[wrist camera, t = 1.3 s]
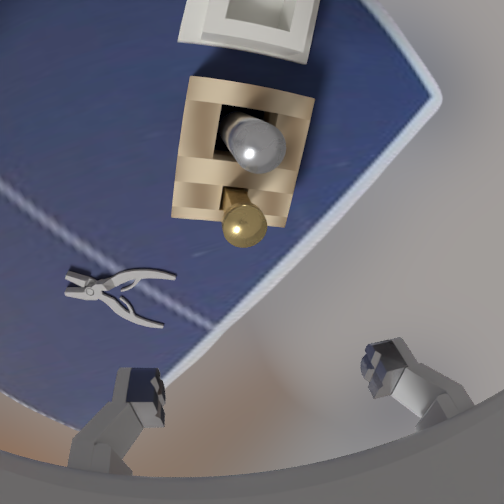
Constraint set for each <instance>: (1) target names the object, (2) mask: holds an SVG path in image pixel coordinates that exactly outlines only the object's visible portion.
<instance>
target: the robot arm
mask: <svg viewBox="0 0 504 504" xmlns="http://www.w3.org/2000/svg"><path fill="white" fill-rule="evenodd" d="M365 352H366V355H365V356H364V357H363V358H362V361H361V372H362V375H363V377H364V379H365V380H367V381H368V382H369V386H368V388H369V390H370V392H371V394H372V396H373V398H374V399H376V398H380V397H384V396H388V395H392V397H394V398H395V399H396V400H398V401H399V402H400V403H401V404H403V405H404V406H405V407H407V408H408V409H409V410H410V411H412V412H413V413H414V414H416V415H417V416H418V417H420V418H421V420H420V421H419V422H418V424H417V425H416V426H415V431H416V433H414V434H411V435H408V436H406V437H403V438H401V439H398V440H395V441H392V442H389V443H386V444H383V445H380V446H377V447H374V448H371V449H367V450H364V451H361V452H357V453H354V454H350V455H346V456H342V457H339V458H334V459H331V460H327V461H322V462H317V463H313V464H308V465H303V466H298V467H292V468H286V469H280V470H273V471H267V472H259V473H250V474H240V475H229V476H214V477H190V478H189V477H185V478H184V477H183V478H182V477H181V478H180V477H172V478H171V477H144V476H132V470H131V469H130V468H129V467H128V466H127V465H126V464H125V463H124V461H123V460H122V459H123V457H124V456H125V454H126V453H127V452H128V450H129V449H130V447H131V445H132V444H133V443H134V442H135V440H136V439H137V437H138V436H139V434H140V433H141V432H142V430H143V428H145V427H164V424H165V423H164V422H165V412H164V409H163V406H164V404H165V399H166V397H165V387H164V383H163V381H162V380H161V379H160V372H159V369H158V368H119V370H118V372H117V377H116V382H115V387H114V392H113V398H112V402H108V403H107V404H106V405H105V406H104V407H103V408H102V409H101V410H100V411H99V412H98V413H97V414H96V415H95V416H94V417H93V418H92V419H91V420H90V421H89V422H88V423H87V424H86V425H85V426H84V428H83V429H82V430H81V431H80V432H79V433H78V434H77V435H76V436H75V437H74V438H73V439H72V444H71V450H70V455H69V460H68V466H67V467H64V466H59V465H54V464H50V463H45V462H40V461H37V460H33V459H29V458H25V457H22V456H18V455H15V454H12V453H9V452H5V451H2V450H0V504H504V390H502V391H500V392H499V393H497V394H495V395H494V396H492V397H490V398H488V399H486V400H485V401H483V402H481V403H479V404H477V405H474V403H473V402H472V400H471V399H470V397H469V395H468V394H467V393H466V391H465V389H464V388H463V386H462V385H461V384H459V383H457V382H455V381H453V380H451V379H450V378H448V377H446V376H444V375H442V374H441V373H438V372H437V371H435V370H433V369H431V368H430V367H428V366H426V365H424V364H422V363H418V362H417V360H416V359H415V357H414V356H413V354H412V353H411V351H410V350H409V348H408V347H407V345H406V343H405V342H404V340H403V339H402V338H400V337H398V338H394V339H390V340H384V341H380V342H375V343H371V344H368V345H367V346H366V349H365Z"/></svg>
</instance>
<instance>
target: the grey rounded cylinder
mask: <svg viewBox="0 0 504 504" xmlns="http://www.w3.org/2000/svg"><path fill="white" fill-rule="evenodd" d="M219 134H220V137H221V138H222V140H223V141H224V143H225V144H226V146H227V147H228V149H229V150H230V152H231V153H232V155H233V156H234V158H235V159H236V161H237V162H238V164H239V165H240V166H241V167H242V168H243V169H245V170H246V171H248V172H251V173H255V174H263V173H267V172H270V171H272V170H274V169H275V168H276V167H278V166H279V165H280V163H281V162H282V160H283V159H284V156H285V153H286V141H285V138H284V136H283V134H282V133H281V131H280V130H279V129H278V128H276V127H275V126H273V125H271V124H269V123H267V122H265V121H262V120H260V119H258V118H255V117H253V116H251V115H248V114H246V113H243V112H239V111H235V112H231V113H228V114H227V115H225V116H224V117H223V118H222V120H221V122H220V124H219Z"/></svg>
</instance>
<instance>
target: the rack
mask: <svg viewBox="0 0 504 504" xmlns="http://www.w3.org/2000/svg"><path fill="white" fill-rule="evenodd" d="M319 3H320V0H187V3H186V7H185V11H184V15H183V19H182V24H181V28H180V33H179V37H178V42H182V43H192V44H201V45H209V46H216V47H223V48H229V49H235V50H241V51H246V52H251V53H257V54H261V55H266V56H271V57H275V58H279V59H284V60H288V61H292V62H295V63H299V64H303V65H304V64H307V60H308V55H309V51H310V46H311V41H312V36H313V32H314V27H315V22H316V17H317V12H318V7H319Z"/></svg>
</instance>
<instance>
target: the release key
mask: <svg viewBox="0 0 504 504" xmlns="http://www.w3.org/2000/svg"><path fill="white" fill-rule="evenodd" d="M221 205H222V208H223V212H224V215H223V217H222V229H223V233H224V236H225V238H226V239H227V241H228V242H229V243H231V244H232V245H234V246H236V247H241V248H245V247H251V246H253V245H255V244H257V243H258V242H260V241H261V240H262V239H263V237H264V236H265V234H266V231H267V221H266V218H265V216H264V214H263V213H262V211H261V209H260V208H259V207H258V206H256V205H255V204H253V203H251V201H250V199H249V197H248V195H247V193H246V192H245V190H244V188H239V187H230V186H223V192H222V198H221Z"/></svg>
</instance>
